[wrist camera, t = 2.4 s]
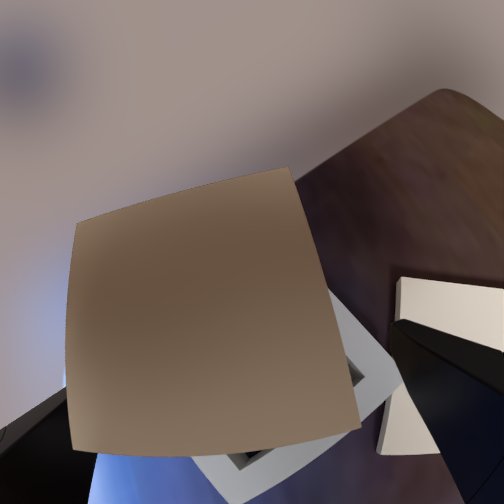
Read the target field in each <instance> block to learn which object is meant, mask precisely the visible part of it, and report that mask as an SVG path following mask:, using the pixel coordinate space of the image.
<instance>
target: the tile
mask: <svg viewBox="0 0 504 504" xmlns="http://www.w3.org/2000/svg"><path fill="white" fill-rule="evenodd" d="M400 319H407V320H410V321H413V322H416V323H419V324H422V325H425V326H428V327H431V328H434V329H437V330H440V331H443V332H446V333H449V334H452V335H455V336H458V337H461V338H464V339H467V340H470V341H473V342H476V343H479V344H482V345H485V346H488V347H491V348H495V349H498V350H501V351H502V352H504V289H499V288H490V287H482V286H473V285H465V284H457V283H449V282H440V281H432V280H424V279H416V278H408V277H401V278H400V279H399V280H398V282H397V283H396V309H395V321H397V320H400ZM392 359H393V356H392ZM393 360H394V359H393ZM376 452H377V453H378V454H380V455H414V454H432V453H440V451H439V449H438V447H437V445H436V443H435V442H434V440H433V438H432V436H431V434H430V432H429V430H428V428H427V427H426V425H425V423H424V421H423V419H422V417H421V416H420V414H419V412H418V410H417V408H416V407H415V405H414V403H413V401H412V399H411V397H410V396H409V394H408V391H407V389H406V387H405V384H404V382H403V383H402V384H401V385H400V386H399V387H398V388H397V389H396V390H395V391H394V392H393V393H392V394H391V395H390V396H389V397H388V398H387V399H386V403H385V409H384V414H383V420H382V425H381V430H380V435H379V440H378V444H377V448H376Z"/></svg>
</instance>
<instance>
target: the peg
mask: <svg viewBox="0 0 504 504" xmlns="http://www.w3.org/2000/svg"><path fill="white" fill-rule="evenodd" d="M65 335H66V336H65V366H66V390H67V404H68V415H69V424H70V432H71V439H72V446H73V450H79V451H86V452H94V453H102V454H112V455H125V456H143V457H192V456H211V455H224V454H234V453H243V452H251V451H259V450H266V449H272V448H278V447H284V446H289V445H294V444H299V443H304V442H309V441H313V440H317V439H322V438H326V437H330V436H334V435H337V434H341V433H345V432H348V431H352V430H355V429H358V428H362V426H361V421H360V416H359V411H358V407H357V402H356V397H355V393H354V388H353V384H352V380H351V375H350V371H349V367H348V363H347V359H346V355H345V351H344V347H343V343H342V339H341V335H340V331H339V327H338V323H337V320H336V316H335V312H334V309H333V305H332V301H331V298H330V294H329V291H328V287H327V284H326V280H325V277H324V274H323V270H322V267H321V264H320V260H319V257H318V254H317V250H316V247H315V244H314V241H313V238H312V234H311V231H310V228H309V225H308V222H307V219H306V216H305V213H304V210H303V207H302V204H301V201H300V198H299V195H298V192H297V189H296V186H295V183H294V181H293V178H292V175H291V172H290V169H289V167H283V168H278V169H274V170H269V171H264V172H259V173H254V174H250V175H246V176H241V177H237V178H232V179H228V180H224V181H220V182H216V183H211V184H207V185H204V186H200V187H195V188H192V189H188V190H184V191H180V192H177V193H173V194H169V195H166V196H162V197H159V198H155V199H151V200H148V201H145V202H141V203H138V204H134V205H131V206H128V207H125V208H122V209H118V210H115V211H112V212H109V213H106V214H103V215H100V216H97V217H94V218H91V219H88V220H85V221H82V222H79V223H77V225H76V231H75V237H74V243H73V251H72V258H71V265H70V275H69V284H68V295H67V310H66V334H65Z"/></svg>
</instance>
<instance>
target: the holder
mask: <svg viewBox="0 0 504 504" xmlns="http://www.w3.org/2000/svg"><path fill="white" fill-rule="evenodd" d="M328 291H329V294H330V298H331V301H332V305H333V309H334V312H335V316H336V320H337V323H338V327H339V331H340V335H341V339H342V343H343V347H344V351H345V355H346V359H347V363H348V367H349V371H350V375H351V379H352V380H353V381H352V384H353V388H354V393H355V397H356V402H357V407H358V411H359V416H360V421H361V422H362V421H363V420H364V419H365V418H366V417H367V416H368V415H370V414H371V413H372V412H373V411H374V410H375V409H376V408H377V407H378V406H379V405H380V404H381V403H383V402H384V401H385V400H386V399H387V398H388V397H389V396H390V395H391V394H392V393H393V392H394V391H395V390H396V389H397V388H398V387H399V386H400V385H401V384H402V383H403V380H402V377H401V375H400V373H399V370H398V368H397V366H396V363H395V361H394V360H393V359H392V358H391V356H390V355H389V354H388V353H387V352H386V351H385V350H384V349H383V348H382V346H381V345H380V344H379V343H378V342H377V341H376V340H375V339H374V338H373V336H372V335H371V334H370V333H369V332H368V331H367V330H366V329H365V328H364V327H363V326H362V324H361V323H360V322H359V321H358V320H357V319H356V318H355V317H354V316H353V315H352V314H351V312H350V311H349V310H348V309H347V308H346V307H345V306H344V305H343V304H342V303H341V302H340V301H339V300H338V298H337V297H336V296H335V295H334V294H333V293H332V292H331V291H330V290H329V289H328ZM349 432H350V431H348V432H345V433H341V434H337V435H334V436H330V437H326V438H322V439H317V440H313V441H309V442H304V443H299V444H294V445H289V446H284V447H278V448H272V449H266V450H262V451H261V452H259V453H258V454H256V455H255V456H253V457H251V458H249V457H248V456H247V455H246V454H245V452H243V453H234V454H224V455H211V456H192V457H191V458H192V459H193V460H194V462H195V463H196V464H197V466H198V467H199V468H200V470H201V471H202V472H203V473H204V475H205V476H206V477H207V478H208V480H209V481H210V482H211V483H212V484H213V486H214V487H215V488H216V489H217V490H218V492H219V493H220V494H221V495H222V496H223V497H224V499H225V500H226V501H227V502H228V503H229V504H243V503H245V502H247V501H249V500H250V499H252V498H254V497H256V496H258V495H259V494H261V493H263V492H265V491H266V490H268V489H270V488H271V487H273V486H275V485H276V484H278V483H280V482H281V481H283V480H284V479H286V478H287V477H289V476H290V475H292V474H294V473H295V472H297V471H298V470H299V469H301V468H302V467H304V466H305V465H307V464H308V463H310V462H311V461H312V460H314V459H315V458H317V457H318V456H319V455H321V454H322V453H323V452H325V451H326V450H327V449H329V448H330V447H331V446H333V445H334V444H335V443H336V442H338V441H339V440H340V439H341V438H343V437H344V436H345V435H346V434H348V433H349Z"/></svg>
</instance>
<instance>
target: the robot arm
mask: <svg viewBox="0 0 504 504" xmlns="http://www.w3.org/2000/svg"><path fill="white" fill-rule="evenodd" d="M390 351H391V354H392V356H393V359H394V361H395V363H396V366H397V368H398V370H399V373H400V375H401V377H402V380H403V382H404V384H405V387H406V389H407V391H408V394H409V396H410V397H411V399H412V401H413V403H414V405H415V407H416V408H417V410H418V412H419V414H420V416H421V417H422V419H423V421H424V423H425V425H426V427H427V428H428V430H429V432H430V434H431V436H432V438H433V440H434V442H435V443H436V445H437V447H438V449H439V451H440V453H441V455H442V457H443V459H444V461H445V463H446V465H447V467H448V469H449V471H450V473H451V475H452V477H453V479H454V481H455V483H456V486H457V488H458V490H459V492H460V494H461V496H462V498H463V501H464V503H465V504H504V352H502V351H501V350H498V349H495V348H491V347H488V346H485V345H482V344H479V343H476V342H473V341H470V340H467V339H464V338H461V337H458V336H455V335H452V334H449V333H446V332H443V331H440V330H437V329H434V328H431V327H428V326H425V325H422V324H419V323H416V322H413V321H410V320H407V319H400V320H397V321H394V322H392V323H391V325H390ZM97 454H98V453H94V452H86V451H79V450H73V446H72V439H71V432H70V424H69V415H68V404H67V390H66V387H65V388H63V389H62V390H60V391H59V392H57V393H56V394H54V395H52V396H51V397H49V398H48V399H46V400H45V401H43V402H42V403H40V404H39V405H37V406H36V407H34V408H33V409H31V410H30V411H28V412H27V413H25V414H24V415H22V416H21V417H19V418H18V419H16V420H15V421H13V422H11V423H10V424H8V425H7V426H5V427H4V428H2V429H1V430H0V504H88V499H89V493H90V488H91V483H92V478H93V473H94V468H95V463H96V459H97Z"/></svg>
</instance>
